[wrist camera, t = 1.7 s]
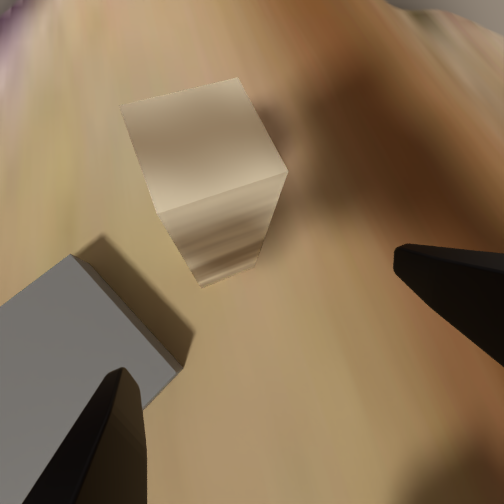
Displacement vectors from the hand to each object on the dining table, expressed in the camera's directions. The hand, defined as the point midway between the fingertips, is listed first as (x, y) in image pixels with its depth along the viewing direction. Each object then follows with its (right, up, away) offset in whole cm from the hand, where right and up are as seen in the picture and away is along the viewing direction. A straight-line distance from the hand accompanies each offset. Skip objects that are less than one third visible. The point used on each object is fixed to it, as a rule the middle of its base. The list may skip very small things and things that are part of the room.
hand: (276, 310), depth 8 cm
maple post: (-4, +2, +13) cm, 14 cm away
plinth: (-13, -7, +10) cm, 18 cm away
